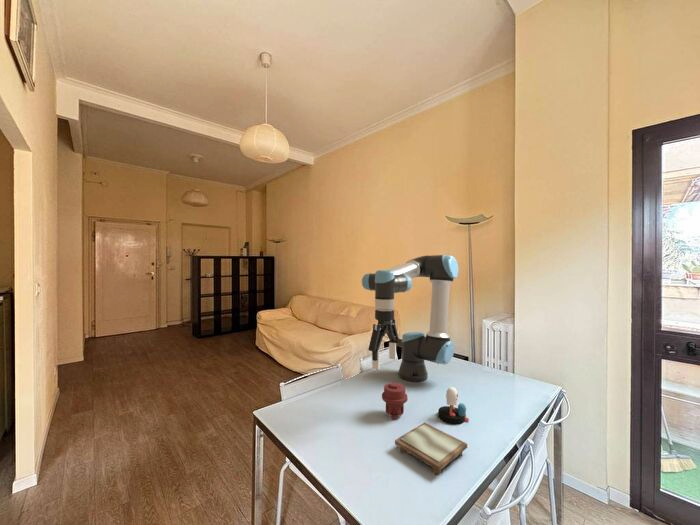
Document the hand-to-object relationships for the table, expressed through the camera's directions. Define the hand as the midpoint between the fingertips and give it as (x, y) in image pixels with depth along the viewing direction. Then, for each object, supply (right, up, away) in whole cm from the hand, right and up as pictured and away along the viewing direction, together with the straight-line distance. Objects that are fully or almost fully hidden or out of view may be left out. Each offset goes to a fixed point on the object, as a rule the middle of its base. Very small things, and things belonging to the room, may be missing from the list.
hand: (384, 363), depth 113 cm
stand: (+12, -21, -21) cm, 32 cm away
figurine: (+27, -21, -1) cm, 34 cm away
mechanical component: (+4, -21, +1) cm, 21 cm away
